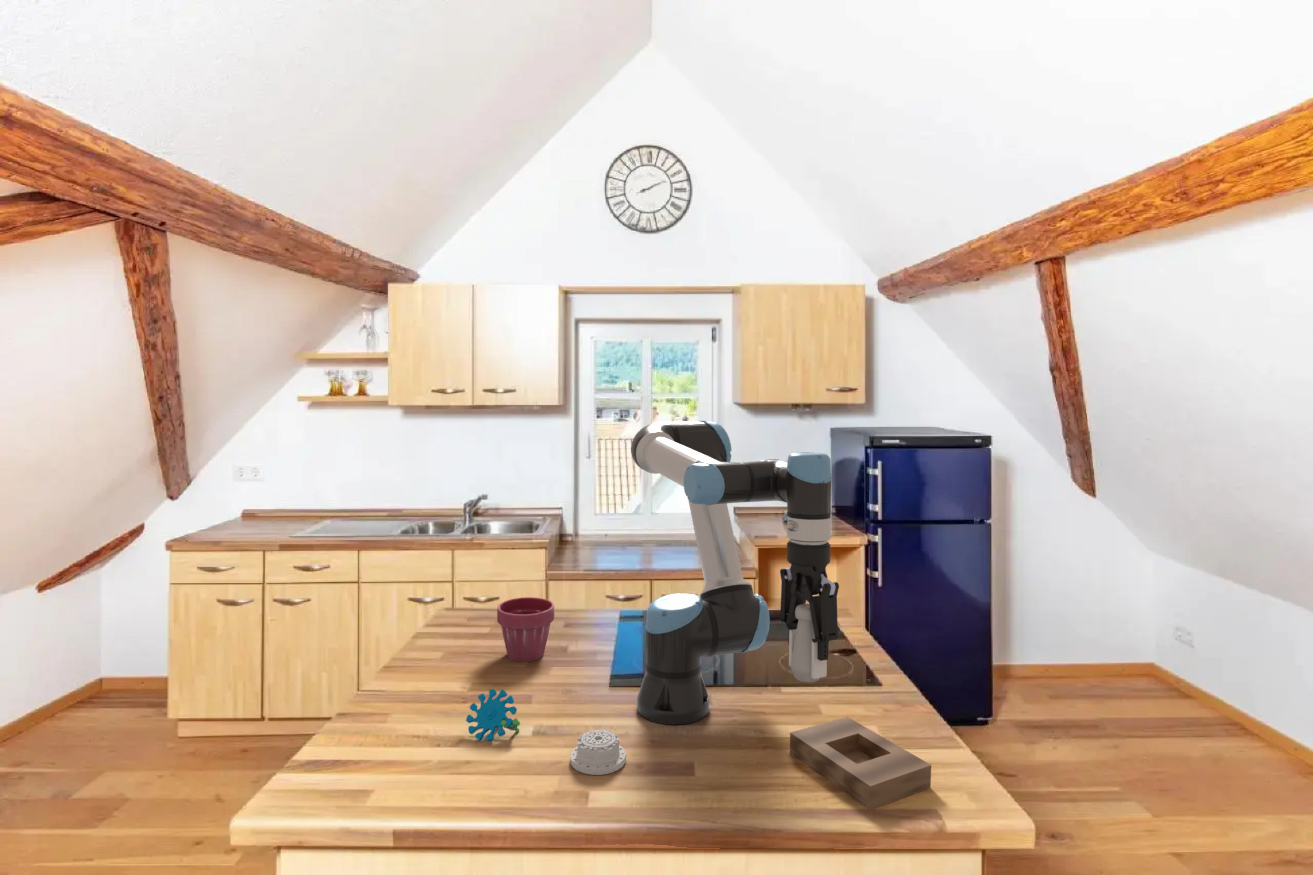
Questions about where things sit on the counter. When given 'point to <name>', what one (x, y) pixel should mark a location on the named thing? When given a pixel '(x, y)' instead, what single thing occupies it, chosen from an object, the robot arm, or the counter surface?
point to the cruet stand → (860, 762)
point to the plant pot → (525, 626)
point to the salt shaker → (803, 645)
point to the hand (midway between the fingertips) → (807, 670)
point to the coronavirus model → (493, 715)
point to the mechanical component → (598, 753)
